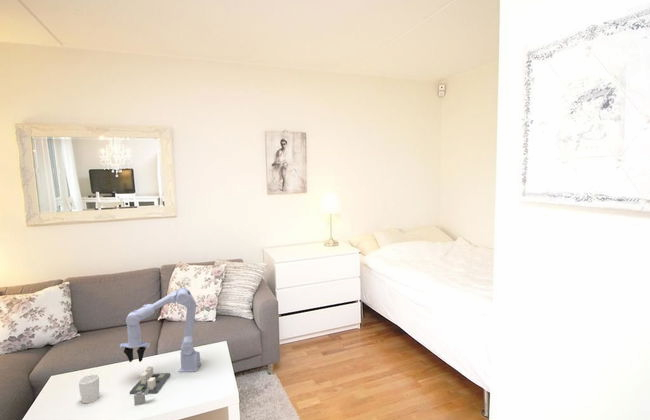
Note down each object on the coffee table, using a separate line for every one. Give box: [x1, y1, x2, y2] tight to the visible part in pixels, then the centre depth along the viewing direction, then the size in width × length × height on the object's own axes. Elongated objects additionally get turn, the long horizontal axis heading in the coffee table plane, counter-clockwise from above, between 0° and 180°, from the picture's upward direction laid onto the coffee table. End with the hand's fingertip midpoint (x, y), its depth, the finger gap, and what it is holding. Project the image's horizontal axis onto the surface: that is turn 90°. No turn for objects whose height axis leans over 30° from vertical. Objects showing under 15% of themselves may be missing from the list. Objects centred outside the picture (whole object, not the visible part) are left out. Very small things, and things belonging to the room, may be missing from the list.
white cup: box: [78, 373, 100, 404], centre depth 157 cm, size 8×8×10 cm
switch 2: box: [144, 365, 155, 378], centre depth 173 cm, size 2×3×4 cm
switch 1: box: [139, 371, 149, 384], centre depth 168 cm, size 2×3×4 cm
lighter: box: [133, 384, 151, 406], centre depth 154 cm, size 7×2×8 cm, turn 107°
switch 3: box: [147, 377, 156, 390], centre depth 163 cm, size 2×3×4 cm
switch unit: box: [129, 372, 171, 395], centre depth 168 cm, size 13×15×1 cm
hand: (136, 360), depth 172 cm, fingers open, 4 cm apart
